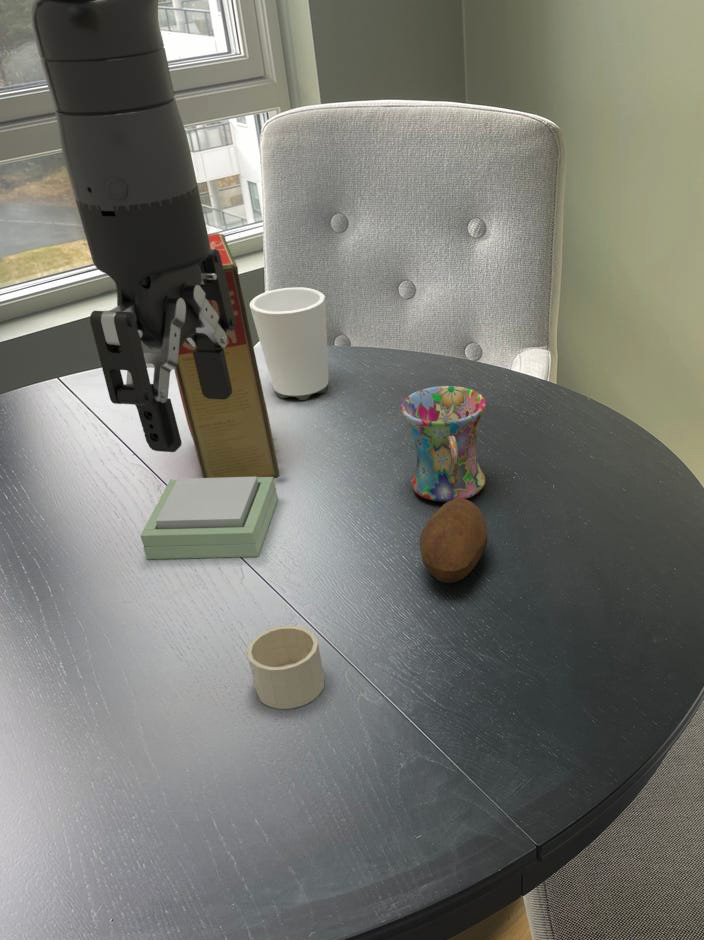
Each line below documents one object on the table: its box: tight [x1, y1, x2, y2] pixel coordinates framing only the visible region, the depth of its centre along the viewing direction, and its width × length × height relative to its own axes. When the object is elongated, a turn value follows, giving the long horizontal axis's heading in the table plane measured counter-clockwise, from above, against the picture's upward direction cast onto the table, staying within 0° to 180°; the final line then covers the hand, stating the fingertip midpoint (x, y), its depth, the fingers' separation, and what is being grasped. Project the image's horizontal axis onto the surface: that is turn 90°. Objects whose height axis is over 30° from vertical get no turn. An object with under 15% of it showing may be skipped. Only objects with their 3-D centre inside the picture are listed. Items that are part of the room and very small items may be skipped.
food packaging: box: [173, 232, 280, 479], centre depth 112 cm, size 13×9×25 cm
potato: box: [419, 498, 488, 584], centre depth 97 cm, size 7×12×7 cm, turn 175°
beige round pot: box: [246, 625, 326, 710], centre depth 85 cm, size 6×6×4 cm
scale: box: [140, 477, 279, 560], centre depth 107 cm, size 12×12×3 cm
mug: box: [400, 385, 487, 503], centre depth 108 cm, size 12×9×11 cm
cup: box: [249, 286, 330, 401], centre depth 132 cm, size 10×10×13 cm
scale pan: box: [156, 477, 259, 529], centre depth 106 cm, size 9×9×1 cm
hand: (193, 422), depth 71 cm, fingers open, 8 cm apart
